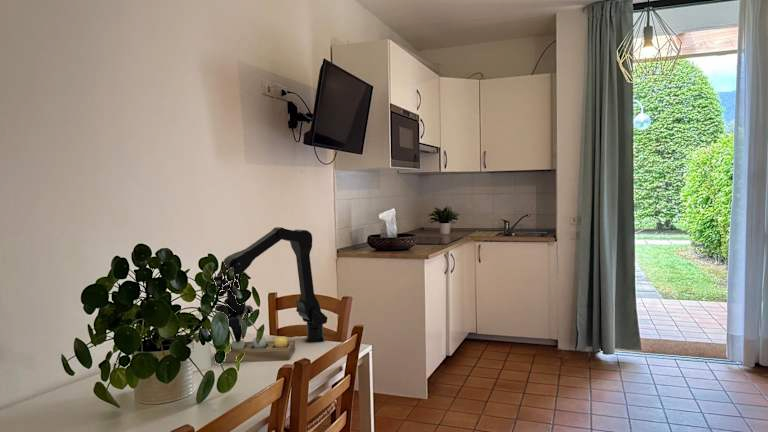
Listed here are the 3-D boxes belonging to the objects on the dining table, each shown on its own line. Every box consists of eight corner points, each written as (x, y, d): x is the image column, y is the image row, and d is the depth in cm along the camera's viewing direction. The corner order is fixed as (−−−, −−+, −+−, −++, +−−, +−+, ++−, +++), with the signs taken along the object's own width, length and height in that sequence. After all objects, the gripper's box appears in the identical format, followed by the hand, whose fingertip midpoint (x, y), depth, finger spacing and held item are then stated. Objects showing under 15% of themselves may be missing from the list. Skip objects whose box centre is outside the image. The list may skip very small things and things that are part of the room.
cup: (215, 363, 168) (213, 312, 168) (204, 371, 160) (201, 318, 159) (190, 363, 169) (188, 312, 168) (178, 371, 161) (175, 319, 160)
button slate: (255, 349, 177) (254, 337, 176) (267, 348, 177) (266, 336, 176) (252, 352, 173) (251, 340, 172) (264, 352, 173) (264, 340, 172)
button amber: (276, 348, 177) (275, 336, 176) (288, 348, 177) (288, 336, 176) (273, 352, 173) (273, 340, 172) (286, 351, 173) (285, 339, 172)
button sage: (234, 352, 177) (233, 340, 176) (246, 351, 177) (245, 340, 176) (230, 356, 173) (230, 343, 172) (243, 355, 173) (242, 343, 172)
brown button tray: (232, 351, 181) (232, 342, 181) (295, 349, 181) (294, 340, 181) (222, 362, 169) (222, 353, 169) (289, 360, 169) (288, 350, 169)
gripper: (219, 290, 183) (221, 335, 184) (201, 301, 164) (204, 351, 165) (252, 288, 183) (254, 333, 184) (237, 299, 164) (240, 350, 165)
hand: (238, 341), depth 175 cm, fingers closed, pressing on button sage
